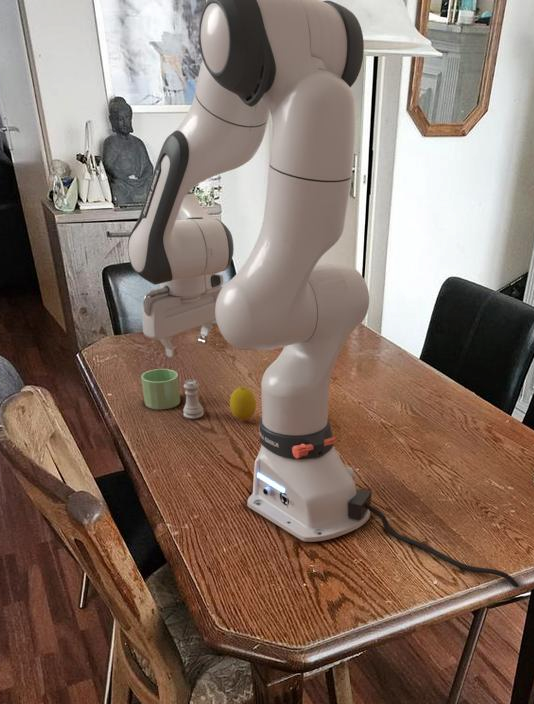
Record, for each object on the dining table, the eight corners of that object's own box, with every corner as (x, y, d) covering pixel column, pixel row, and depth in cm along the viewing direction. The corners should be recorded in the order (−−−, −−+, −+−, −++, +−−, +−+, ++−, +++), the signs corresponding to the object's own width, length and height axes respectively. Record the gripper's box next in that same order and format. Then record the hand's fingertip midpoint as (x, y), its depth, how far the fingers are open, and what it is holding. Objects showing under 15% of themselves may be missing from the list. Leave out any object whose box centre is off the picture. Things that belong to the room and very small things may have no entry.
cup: (186, 404, 143) (183, 377, 139) (152, 412, 139) (149, 385, 135) (172, 392, 148) (169, 366, 145) (139, 399, 144) (135, 373, 141)
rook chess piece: (193, 421, 135) (190, 387, 131) (179, 415, 138) (175, 381, 133) (208, 415, 139) (205, 381, 134) (194, 409, 141) (191, 375, 137)
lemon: (235, 414, 139) (233, 380, 135) (259, 417, 139) (258, 383, 134) (227, 424, 135) (225, 390, 131) (251, 428, 134) (250, 393, 130)
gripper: (154, 295, 114) (162, 367, 121) (228, 274, 129) (231, 339, 136) (130, 289, 117) (139, 360, 124) (205, 269, 132) (209, 333, 139)
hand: (188, 349), depth 130 cm, fingers open, 8 cm apart
